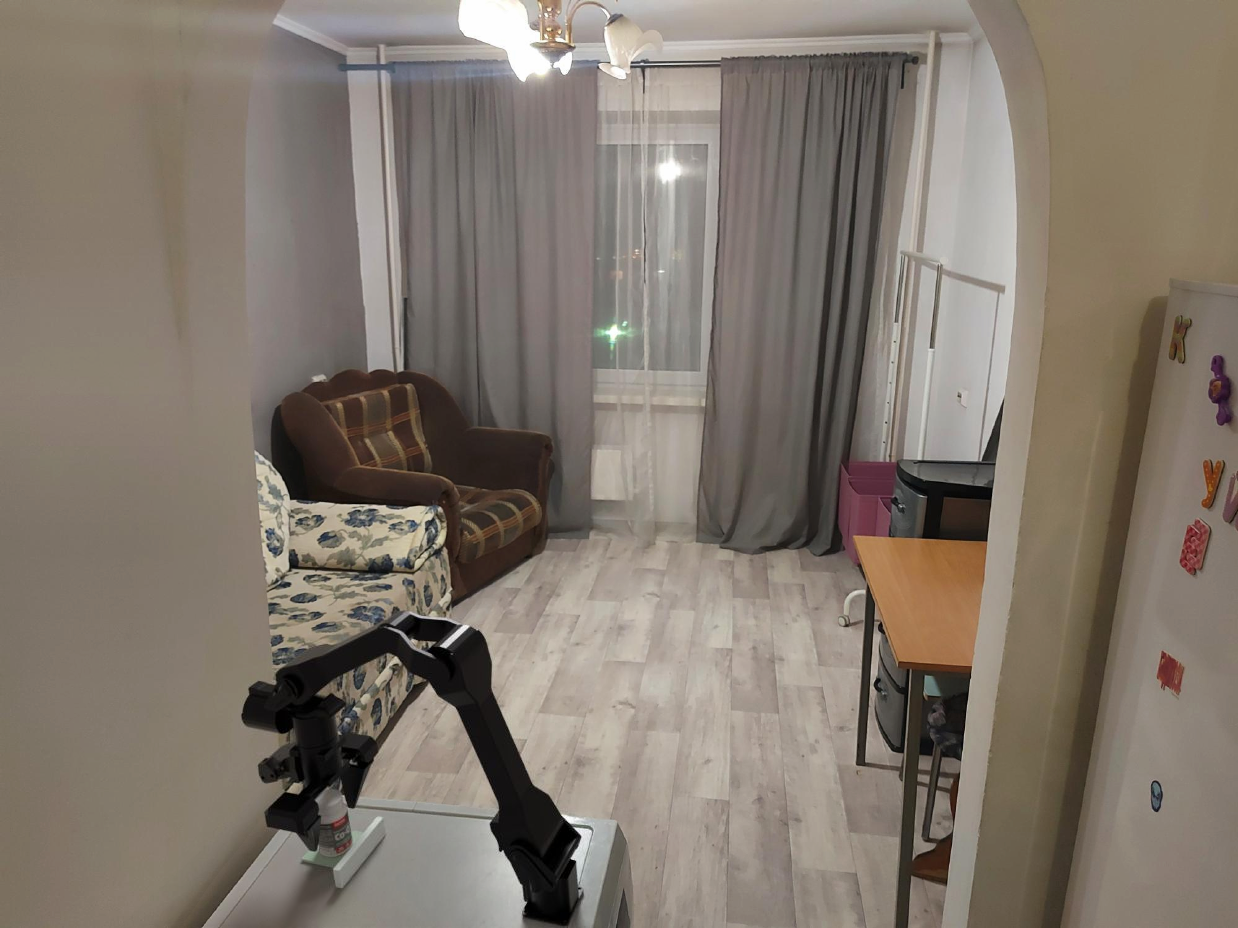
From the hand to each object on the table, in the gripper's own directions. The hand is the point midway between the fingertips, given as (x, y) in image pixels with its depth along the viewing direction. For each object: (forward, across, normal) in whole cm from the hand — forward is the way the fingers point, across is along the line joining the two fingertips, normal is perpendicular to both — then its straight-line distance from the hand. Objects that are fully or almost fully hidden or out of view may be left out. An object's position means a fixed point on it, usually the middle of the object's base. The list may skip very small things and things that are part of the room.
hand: (333, 828), depth 125 cm
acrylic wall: (+4, +1, +5) cm, 6 cm away
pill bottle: (+3, 0, 0) cm, 3 cm away
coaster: (+4, 0, 0) cm, 4 cm away
